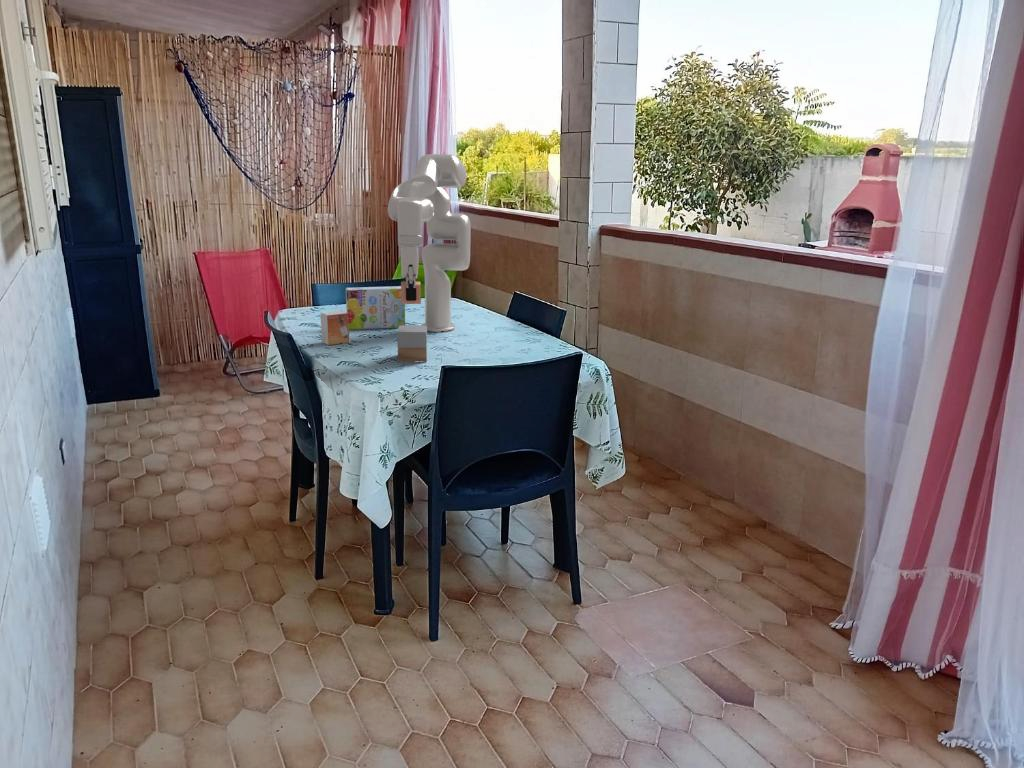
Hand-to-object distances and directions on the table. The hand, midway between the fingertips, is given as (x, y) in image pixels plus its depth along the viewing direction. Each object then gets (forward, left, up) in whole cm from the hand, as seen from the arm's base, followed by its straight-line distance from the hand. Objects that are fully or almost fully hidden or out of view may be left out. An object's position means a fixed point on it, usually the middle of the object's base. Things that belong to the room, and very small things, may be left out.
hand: (411, 298), depth 243 cm
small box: (-22, -26, -20) cm, 39 cm away
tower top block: (0, 0, -15) cm, 15 cm away
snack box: (-45, -13, -20) cm, 51 cm away
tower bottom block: (0, 0, -20) cm, 20 cm away
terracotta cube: (0, 0, -1) cm, 1 cm away
